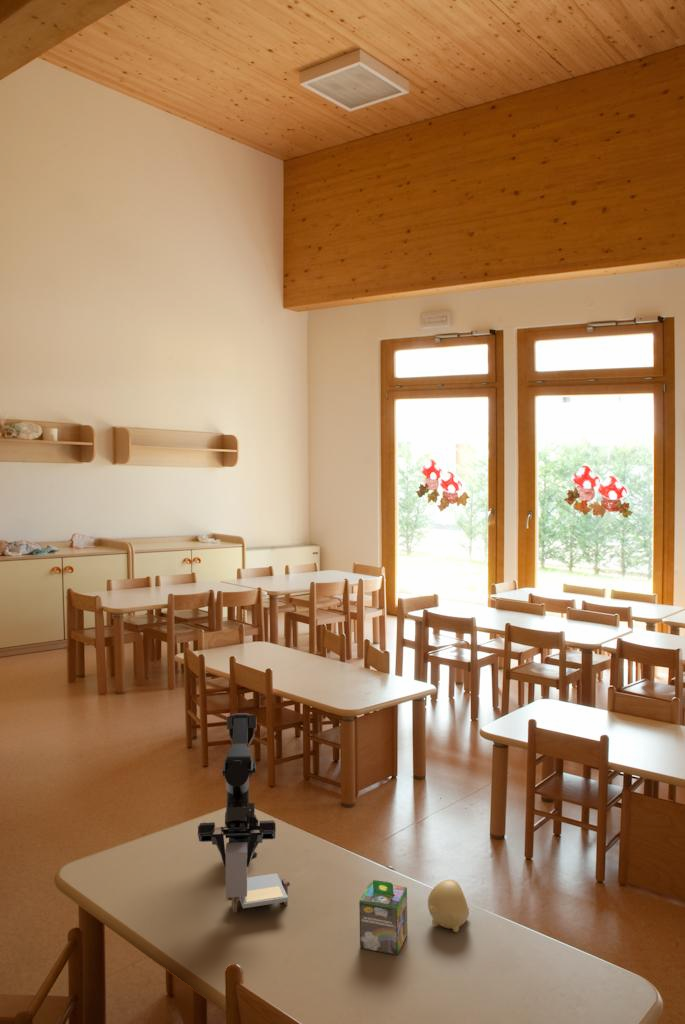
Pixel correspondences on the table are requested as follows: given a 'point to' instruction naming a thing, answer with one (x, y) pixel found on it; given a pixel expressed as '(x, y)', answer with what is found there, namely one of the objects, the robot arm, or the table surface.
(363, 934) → the chalk box
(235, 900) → the trapdoor frame
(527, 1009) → the table surface
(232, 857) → the tall grey rectangular block
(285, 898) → the trapdoor
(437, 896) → the toy pig
